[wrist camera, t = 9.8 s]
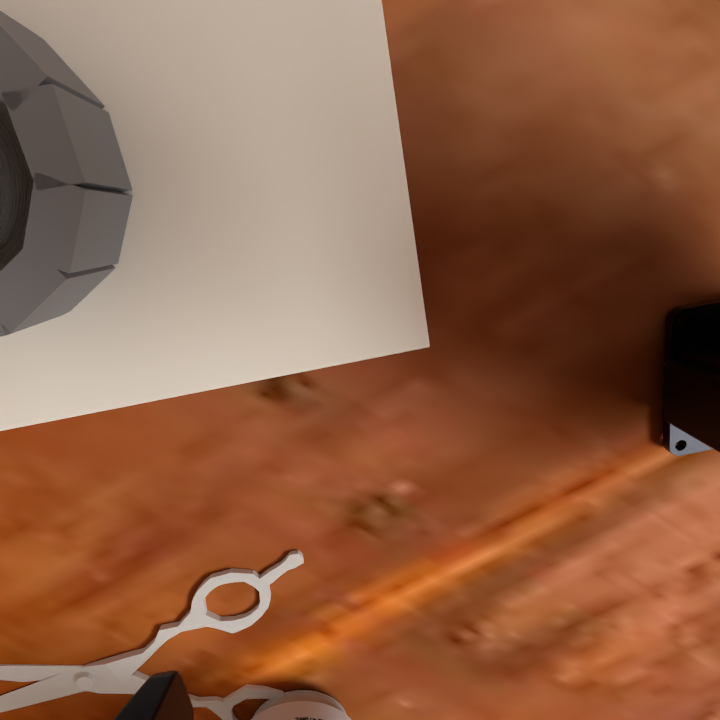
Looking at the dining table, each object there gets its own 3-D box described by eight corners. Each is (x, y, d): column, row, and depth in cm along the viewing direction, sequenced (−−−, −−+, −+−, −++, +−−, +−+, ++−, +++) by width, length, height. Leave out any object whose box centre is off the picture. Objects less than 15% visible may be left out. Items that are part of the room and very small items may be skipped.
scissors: (328, 726, 23) (-85, 791, 22) (328, 710, 24) (-72, 772, 23) (301, 553, 20) (-181, 618, 19) (302, 541, 21) (-162, 603, 20)
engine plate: (345, -193, 13) (355, -390, 9) (421, 336, 18) (452, 373, 14) (-432, -61, 13) (-812, -203, 9) (-144, 447, 18) (-295, 520, 13)
